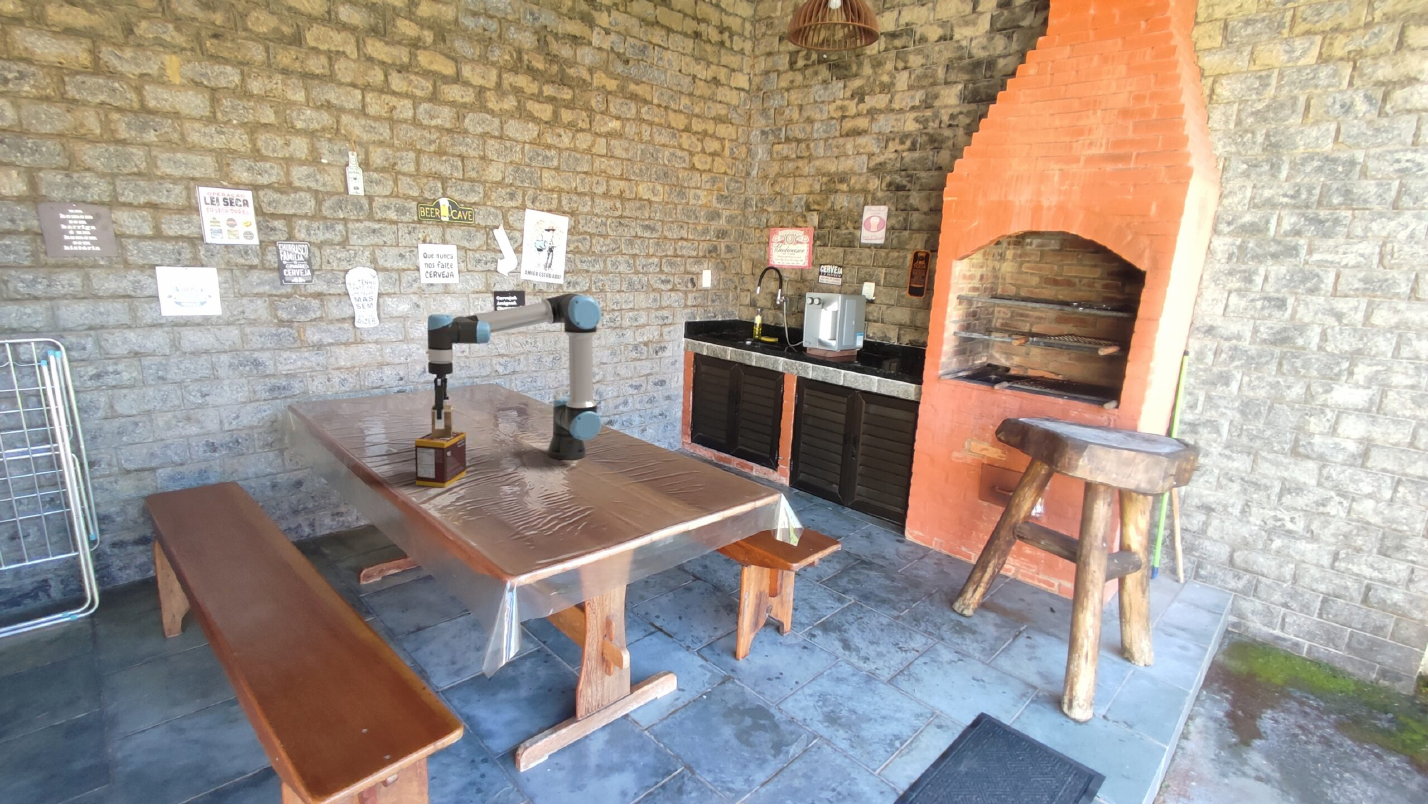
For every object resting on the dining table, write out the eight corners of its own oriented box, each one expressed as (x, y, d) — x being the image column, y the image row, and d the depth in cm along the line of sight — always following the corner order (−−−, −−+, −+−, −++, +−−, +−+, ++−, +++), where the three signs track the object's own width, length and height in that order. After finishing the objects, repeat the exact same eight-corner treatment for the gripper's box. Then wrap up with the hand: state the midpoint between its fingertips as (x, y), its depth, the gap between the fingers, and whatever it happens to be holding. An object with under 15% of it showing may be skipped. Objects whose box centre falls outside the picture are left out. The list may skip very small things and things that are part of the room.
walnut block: (452, 433, 226) (452, 405, 224) (451, 438, 220) (451, 409, 218) (433, 433, 224) (432, 405, 222) (431, 438, 218) (431, 409, 216)
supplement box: (466, 474, 232) (466, 431, 229) (445, 488, 217) (444, 442, 214) (438, 471, 233) (438, 428, 230) (415, 485, 218) (414, 439, 215)
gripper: (431, 355, 227) (432, 415, 231) (424, 367, 204) (425, 433, 208) (454, 356, 230) (455, 414, 234) (450, 367, 207) (450, 432, 211)
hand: (441, 423), depth 221 cm, fingers open, 13 cm apart
